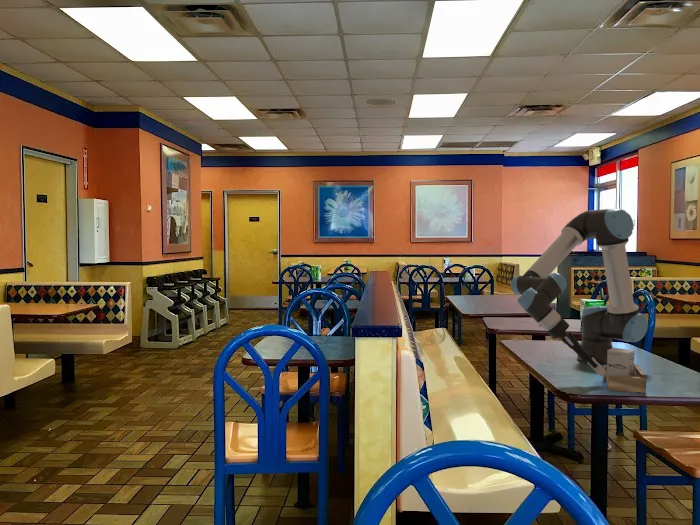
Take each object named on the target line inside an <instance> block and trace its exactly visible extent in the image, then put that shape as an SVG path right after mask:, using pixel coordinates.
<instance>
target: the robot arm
mask: <svg viewBox="0 0 700 525" xmlns="http://www.w3.org/2000/svg"><path fill="white" fill-rule="evenodd" d="M634 228H635V227H634V220H633V218H632V216H631V215H630V213H628V212H627V211H626V210H625V209H622V208H621V209H620V208H604V209H589V210H586V211H583V212H581V213H580V214H578V215H576V216H575V217H574V218H572V219H571V220H570V221H569V222H568V223H567V224H565V226H564V227H563V228H562V229H561V230H560V233H561V234H559V235H558V237H557V238H556V239H555V240H554V241H553V243H551V244H550V245H549V247H547V248H546V249H545V251H544V252H543V253H542V254H541V255H540V257H538V258H537V260H536V261H535V262H534V263H533V264H532V265H531V266H530V267H529V268H528V269H527V271H526V272H524V274H522V275H516V276H514V277H513V278H512V279H511V281H510V289H511V291H512V292H513V294H516V295H517V296H519V297H518V298H517V303H518V304H519V306H520V307H521V308H522V309H523V310H524V311H525V312H526V313H527V315H529V316H530V317H531V318H532V319H533V320H534V321H535V322H536V323H537V324H538V327H539V328H541V327H542V329H543V330H545V331H547V334H548V336H550V337H551V338H552V339H553V340H555V339H558V338H559V337H561V341H562V342H563V344H564V345H566V346H568V348H570V349H571V350H573V351H574V352H575V353H576V354H577V361H581V362H583V363H584V364H585V365H588V366H589V367H591V369H592V370H593V371H595V373H597V375H598V376H600V377H602V376H603V374H604V373H605V372H606V370H605V369H604V368H603V366H602V364H603V365H605V364H606V365H607V351H608V350H609V349H611V348H614V346H613V342H612V340H617V341H624V342H627V343H629V342H630V343H631V342H632V343H636V342H639V341H641V340H642V339H643V338H644V337H645V336H646V334H647V331H648V326H649V321H648V318H647V316H646V315H645V314H643V313H641V312H640V309H639V305H638V304H635V302H634V296H633V289H632V282H631V281H632V280H631V276H630V270H629V269H630V268H629V262H628V255H627V248H626V246H627V244H628V242H629V238H630V237H631V236H632V234H633V230H634ZM590 239H595V241H596V246H597V247H599V248H600V249H601V253H602V259H603V265H604V266H603V267H604V272H605V279H606V284H607V290H608V291H607V292H608V299H609V305H607V306H605V305H604V306H603V305H602V306H600V305H599V306H588V307H584V308H583V310H582V313H581V314H582V316H581V343H579V341H578V340H577V338H575V336H574V334H572V333H571V332H568V331H567V330H568V329H569V327H570V324H569V322H568V321H566V320H565V319H564V318H561V317H562V316H561V315H560V314H559V313H558V312H557V311H556V310H555V308H553V307H552V306H551V305H552V303H553V302H554V301H555V300H556V299H557V298H558V297H559V296H560V295H561V294H563V292H564V291H565V289H566V288H567V287H568V286H567V285H568V283H567V280H566V278H565V277H564V276H563V275H561V274H560V273H559V272H554V271H555V270H556V269H557V267H558V266H560V264H561V263H562V262H563V261H564V260H565V259H566V258H567V257H568V256H569V254H570V253H572V251H573V250H574V249H575V247H577V246H578V247H579V246H581V245H582V244H583V243H584V242H585V241H587V240H590Z"/></svg>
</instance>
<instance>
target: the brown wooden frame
mask: <svg viewBox="0 0 700 525" xmlns="http://www.w3.org/2000/svg"><path fill="white" fill-rule="evenodd" d="M602 367H603V368H604V369H605V370H606V372H605V373H604V374H603V375H602V380H603V381H607V365H603V366H602ZM607 390H608V391H609V390H613V391H612V392H621V391H627V392H626V393H635V392H641V393H640V394H647V373H646V372H645V371H644V370H643V369H642V368H641V366H639V364H635V363H634V377H630V376H614V375H608V385H607Z"/></svg>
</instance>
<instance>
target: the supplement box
mask: <svg viewBox="0 0 700 525" xmlns="http://www.w3.org/2000/svg"><path fill="white" fill-rule="evenodd" d="M634 364H635V350H633V349H627V348H618V347H613V348H611V349H609V350H608V351H607V364H606V366H607V380H606V386H608V375H614V376H630V377H634Z"/></svg>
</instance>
